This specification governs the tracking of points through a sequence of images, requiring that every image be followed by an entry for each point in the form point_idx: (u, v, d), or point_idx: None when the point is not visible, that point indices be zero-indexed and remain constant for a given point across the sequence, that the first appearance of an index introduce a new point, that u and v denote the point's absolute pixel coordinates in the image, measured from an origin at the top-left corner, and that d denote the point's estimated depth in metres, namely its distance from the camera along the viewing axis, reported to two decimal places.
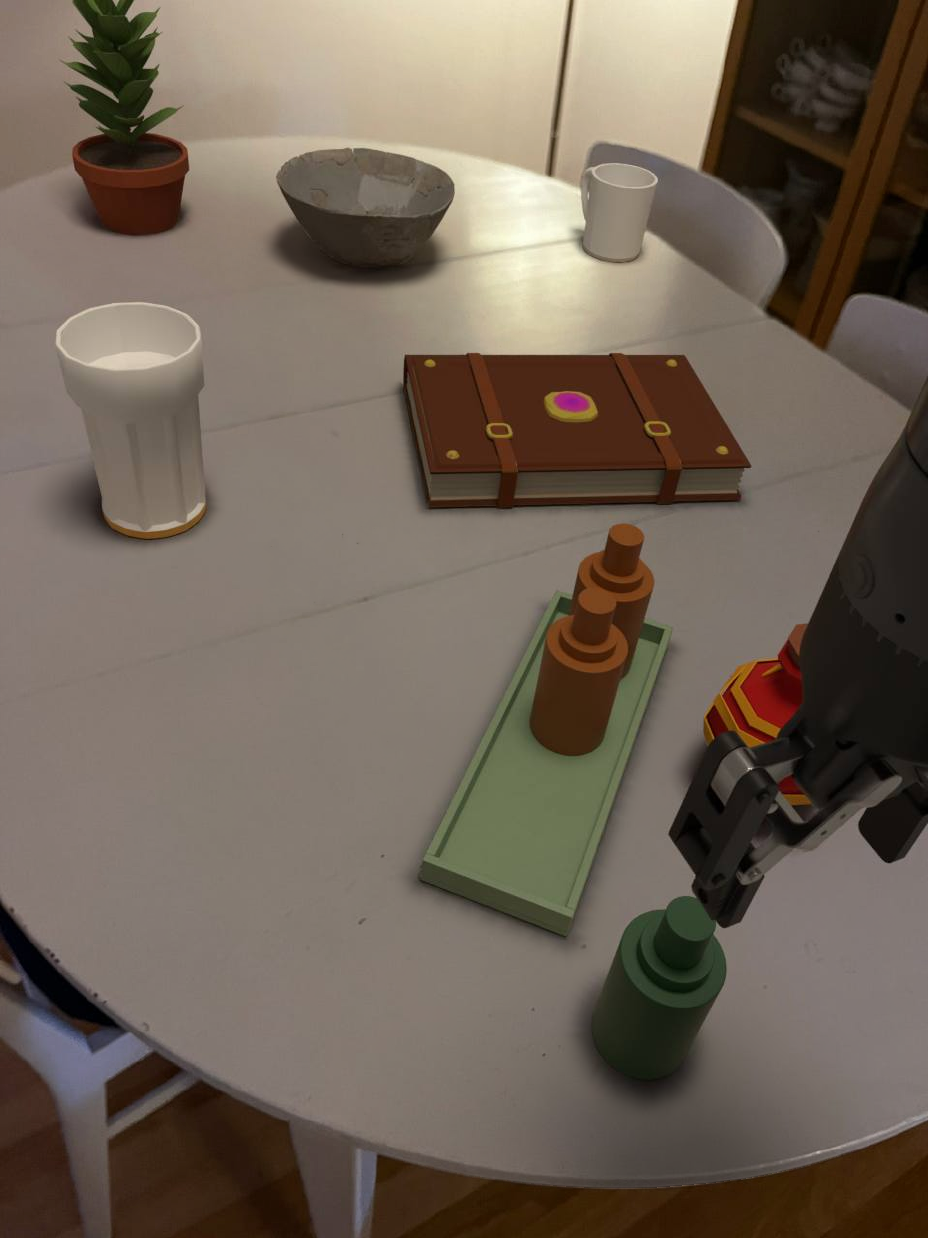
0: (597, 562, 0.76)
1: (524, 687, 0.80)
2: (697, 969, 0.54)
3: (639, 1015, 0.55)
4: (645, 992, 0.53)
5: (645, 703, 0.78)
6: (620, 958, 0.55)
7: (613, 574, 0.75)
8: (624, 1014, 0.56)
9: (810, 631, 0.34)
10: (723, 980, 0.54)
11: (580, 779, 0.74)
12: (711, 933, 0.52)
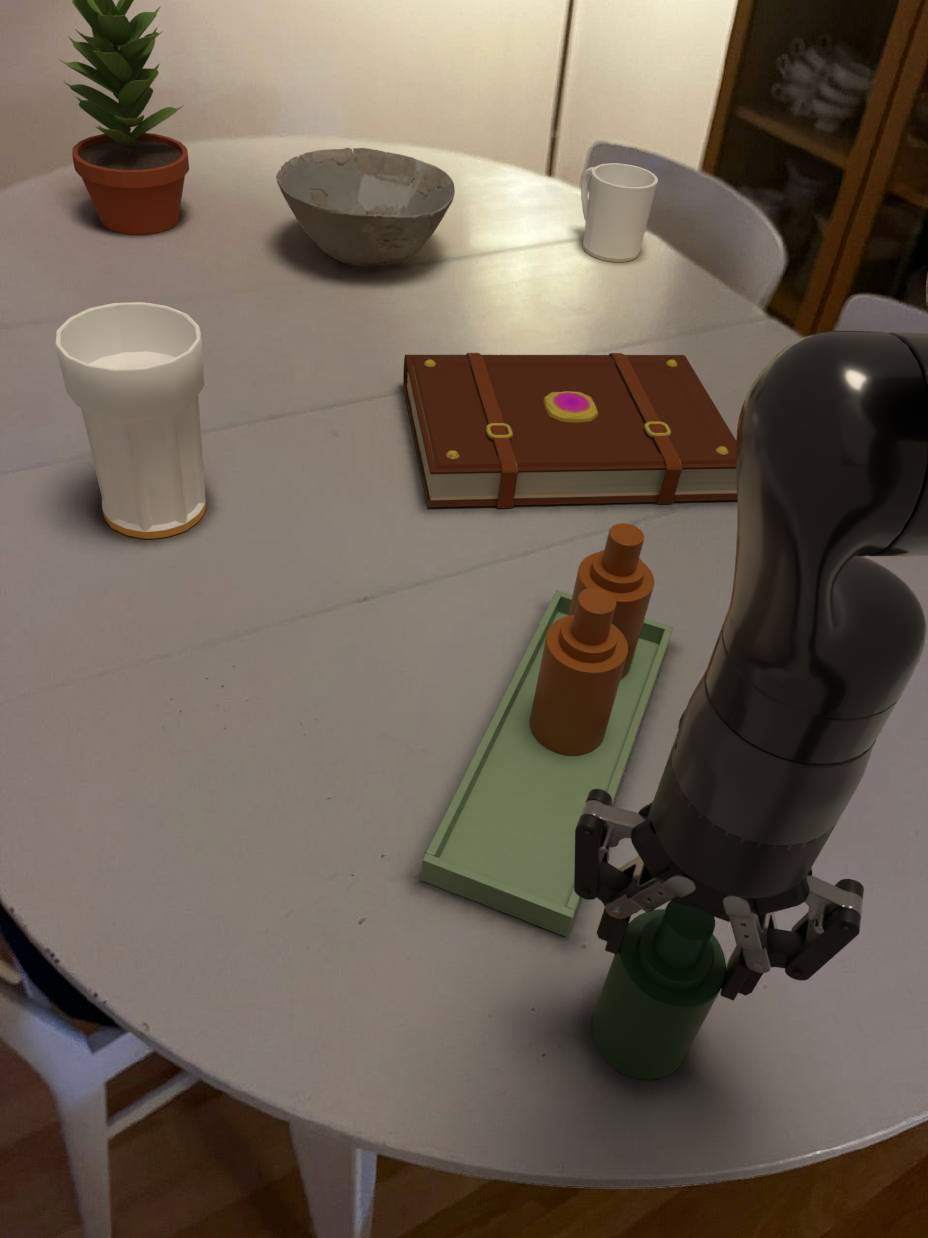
0: (597, 562, 0.76)
1: (524, 687, 0.80)
2: (696, 969, 0.54)
3: (639, 1014, 0.55)
4: (645, 991, 0.53)
5: (645, 703, 0.78)
6: (620, 958, 0.55)
7: (613, 574, 0.75)
8: (624, 1014, 0.56)
9: None
10: (723, 980, 0.54)
11: (580, 779, 0.74)
12: (710, 933, 0.52)
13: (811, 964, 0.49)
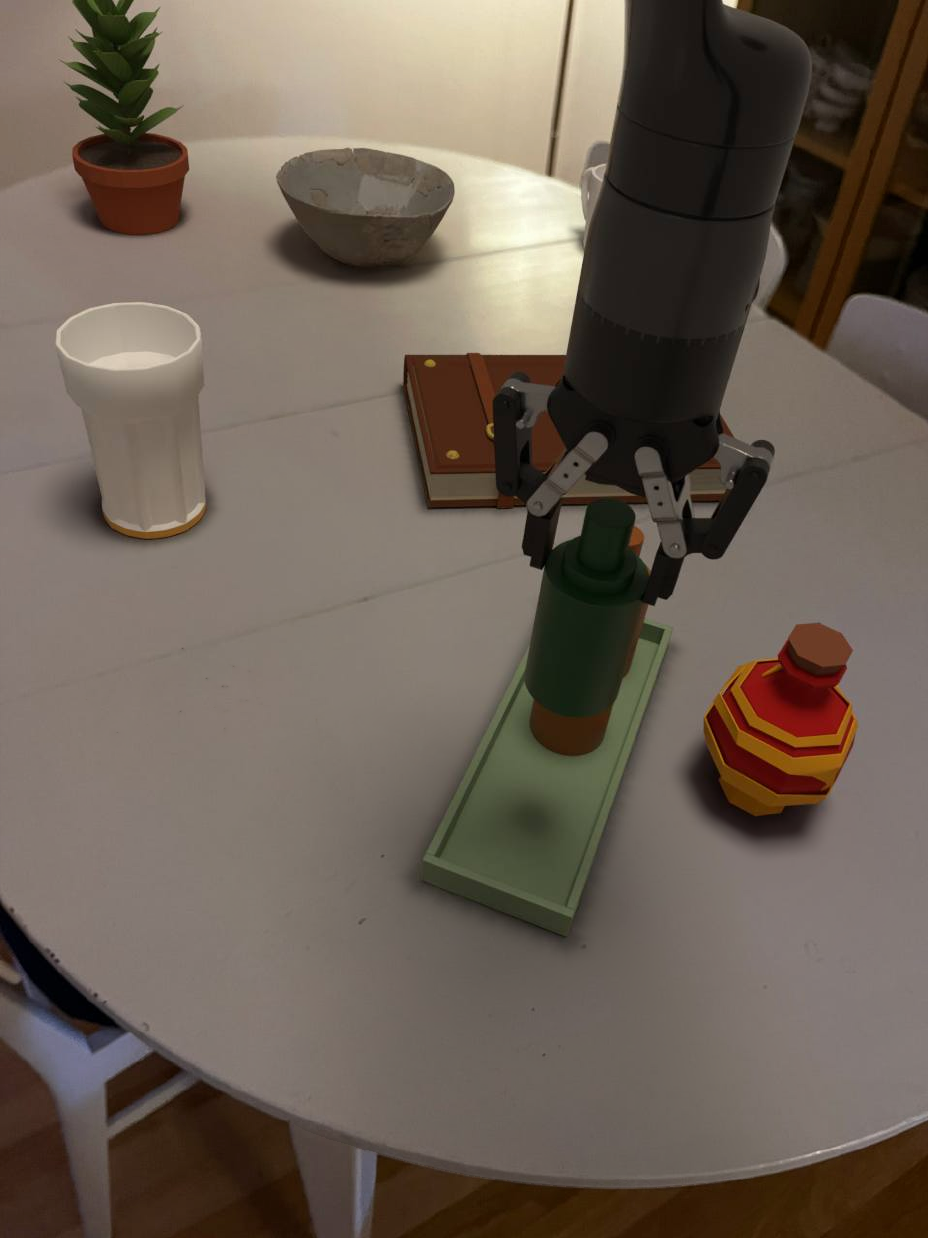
0: None
1: (524, 687, 0.80)
2: (619, 572, 0.54)
3: (563, 625, 0.55)
4: (567, 594, 0.54)
5: (645, 703, 0.78)
6: (545, 571, 0.56)
7: None
8: (550, 632, 0.56)
9: None
10: (645, 588, 0.55)
11: (580, 779, 0.74)
12: (630, 523, 0.52)
13: (724, 533, 0.50)
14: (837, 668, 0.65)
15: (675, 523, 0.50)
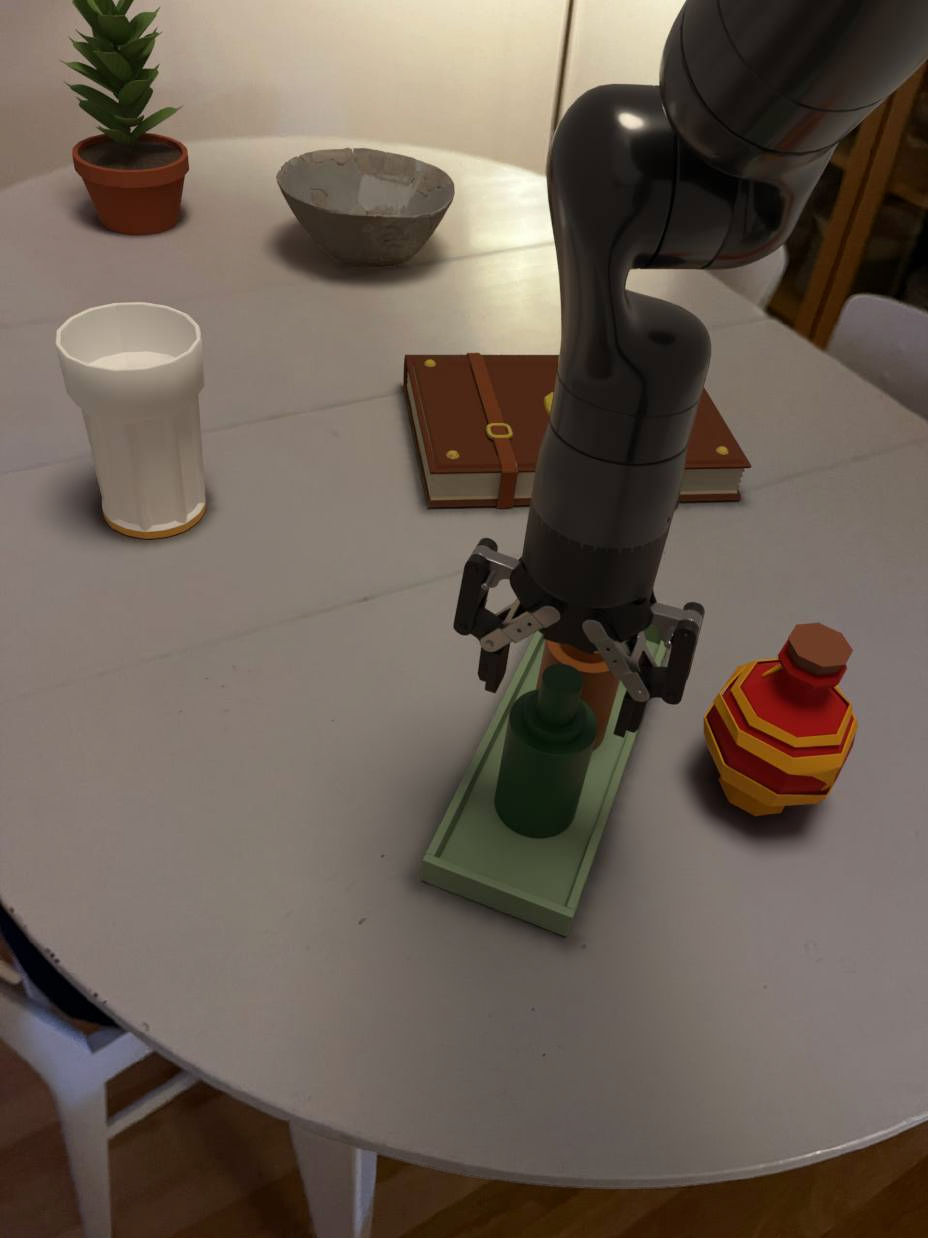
0: None
1: (524, 687, 0.80)
2: (570, 725, 0.64)
3: (524, 767, 0.65)
4: (527, 744, 0.64)
5: None
6: (509, 721, 0.66)
7: None
8: (514, 771, 0.66)
9: None
10: (594, 737, 0.65)
11: None
12: (578, 688, 0.63)
13: (676, 683, 0.58)
14: (837, 668, 0.65)
15: (633, 674, 0.59)
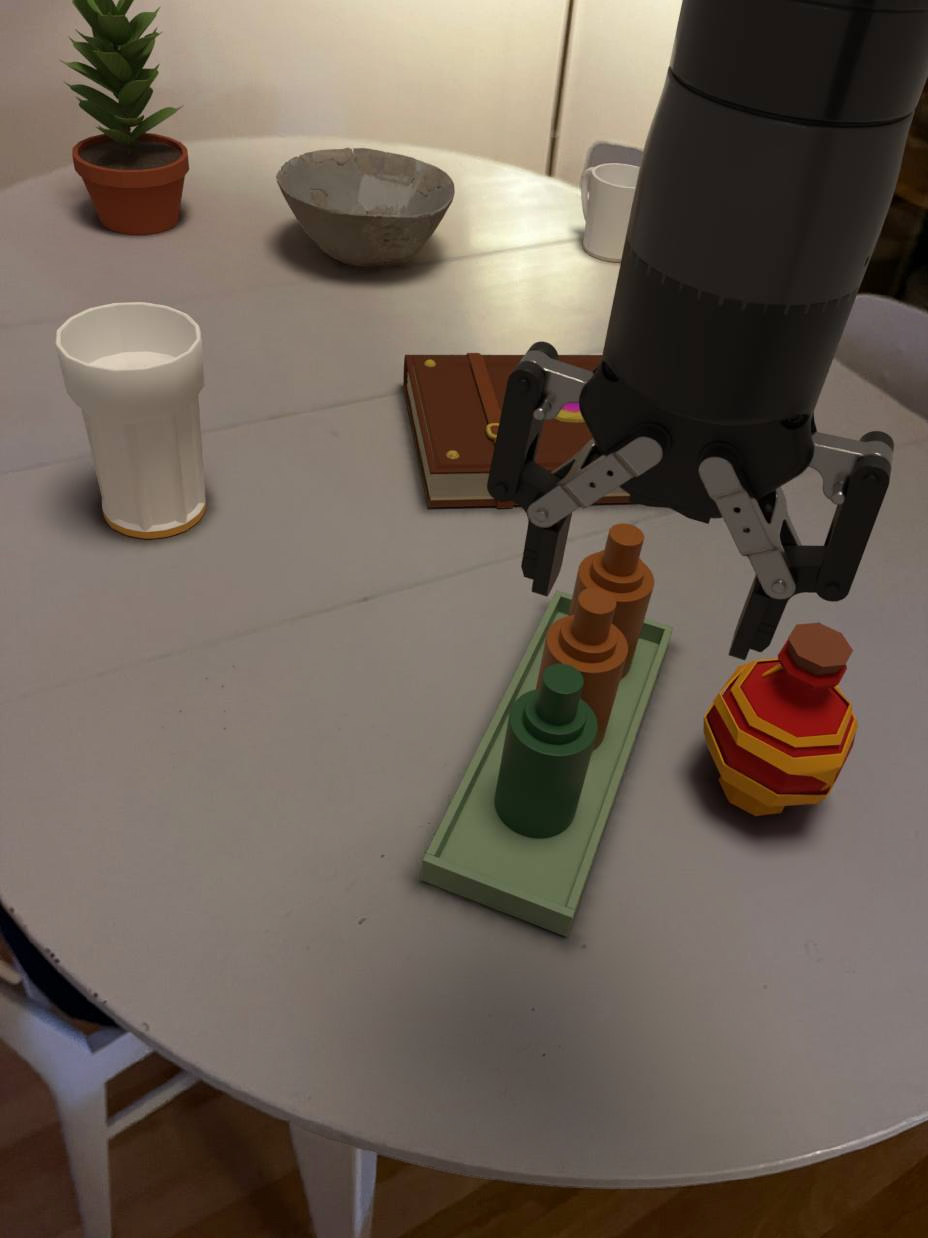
0: (597, 562, 0.76)
1: (524, 687, 0.80)
2: (570, 725, 0.64)
3: (524, 767, 0.65)
4: (527, 744, 0.64)
5: (645, 703, 0.78)
6: (509, 721, 0.66)
7: (613, 574, 0.75)
8: (514, 771, 0.66)
9: None
10: (594, 737, 0.65)
11: None
12: (578, 688, 0.63)
13: (844, 564, 0.37)
14: (837, 668, 0.65)
15: (773, 553, 0.38)
